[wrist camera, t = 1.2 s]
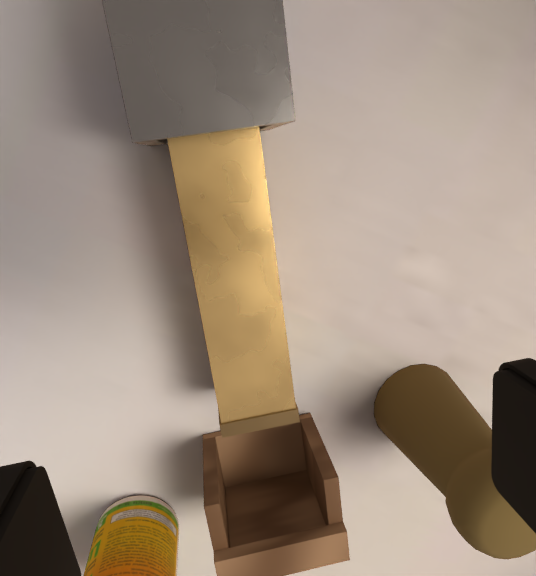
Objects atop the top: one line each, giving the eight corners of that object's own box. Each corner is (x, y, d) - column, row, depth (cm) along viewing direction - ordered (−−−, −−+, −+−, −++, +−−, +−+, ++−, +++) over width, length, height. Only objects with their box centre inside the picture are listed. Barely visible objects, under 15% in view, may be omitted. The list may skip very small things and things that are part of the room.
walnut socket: (310, 412, 30) (342, 486, 23) (317, 474, 31) (349, 559, 25) (202, 434, 29) (204, 517, 23) (215, 496, 31) (220, 590, 24)
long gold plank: (222, -73, 21) (229, -126, 17) (285, 384, 28) (299, 422, 24) (131, -64, 20) (115, -118, 16) (218, 397, 28) (222, 438, 24)
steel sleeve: (253, 5, 23) (276, -57, 16) (268, 130, 24) (295, 120, 18) (124, 18, 22) (93, -40, 15) (150, 145, 24) (132, 142, 17)
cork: (355, 411, 30) (438, 544, 20) (418, 346, 30) (538, 450, 19) (412, 456, 32) (515, 600, 22) (472, 396, 32) (608, 515, 21)
